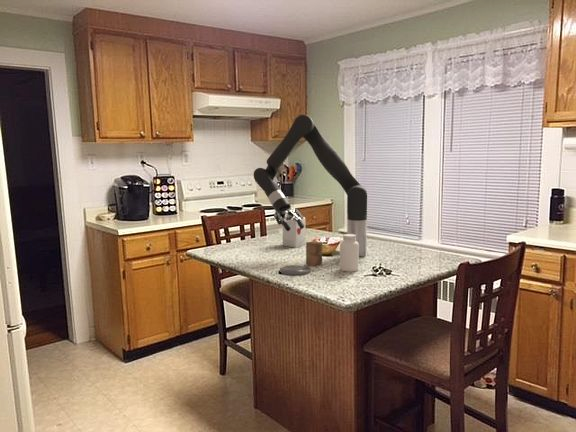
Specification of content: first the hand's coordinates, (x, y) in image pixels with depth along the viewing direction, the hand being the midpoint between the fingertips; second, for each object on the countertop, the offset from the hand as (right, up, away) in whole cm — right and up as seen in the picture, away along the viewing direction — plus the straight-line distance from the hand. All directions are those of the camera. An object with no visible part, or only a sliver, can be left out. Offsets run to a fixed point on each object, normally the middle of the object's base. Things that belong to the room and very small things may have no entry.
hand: (296, 229), depth 219 cm
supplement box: (0, -10, +35) cm, 36 cm away
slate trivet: (-1, -17, -18) cm, 25 cm away
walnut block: (+8, -16, -6) cm, 19 cm away
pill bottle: (+22, -17, -15) cm, 32 cm away
